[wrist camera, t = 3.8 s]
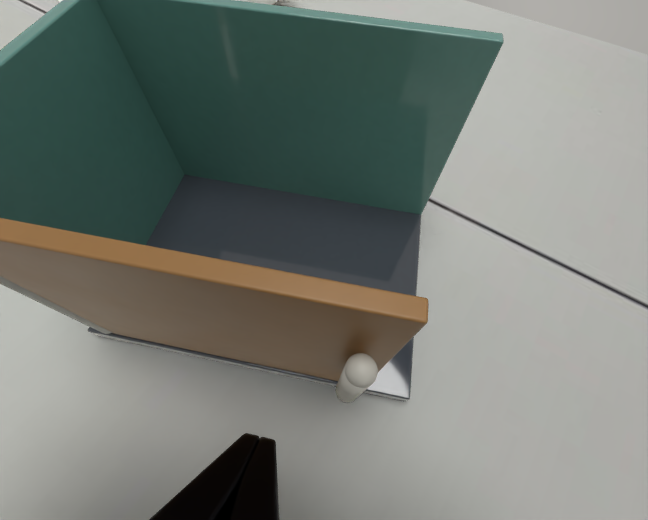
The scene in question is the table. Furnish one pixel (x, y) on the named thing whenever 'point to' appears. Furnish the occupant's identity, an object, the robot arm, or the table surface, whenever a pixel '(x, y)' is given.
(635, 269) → the table surface
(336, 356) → the brown hinged door
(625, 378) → the table surface
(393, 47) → the shower stall
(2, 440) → the table surface
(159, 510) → the robot arm
